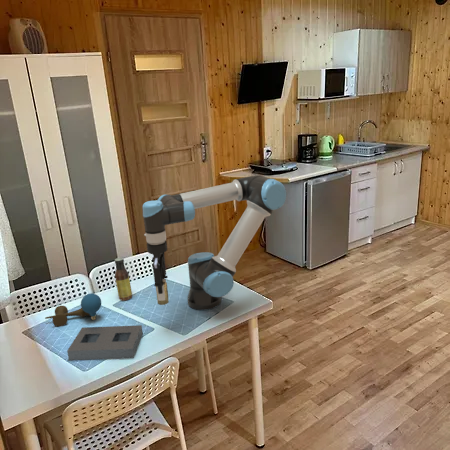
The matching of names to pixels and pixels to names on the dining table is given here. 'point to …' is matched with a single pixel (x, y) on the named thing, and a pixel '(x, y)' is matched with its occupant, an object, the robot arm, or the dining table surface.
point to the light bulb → (91, 304)
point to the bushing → (165, 295)
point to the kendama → (65, 315)
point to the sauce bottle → (122, 280)
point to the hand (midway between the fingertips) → (162, 297)
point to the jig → (105, 343)
